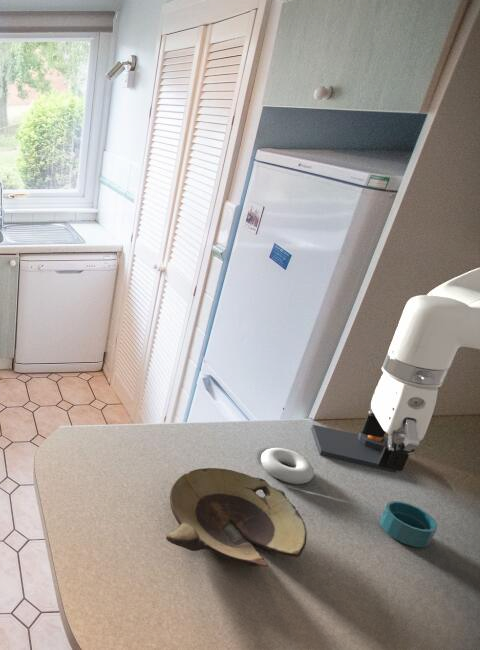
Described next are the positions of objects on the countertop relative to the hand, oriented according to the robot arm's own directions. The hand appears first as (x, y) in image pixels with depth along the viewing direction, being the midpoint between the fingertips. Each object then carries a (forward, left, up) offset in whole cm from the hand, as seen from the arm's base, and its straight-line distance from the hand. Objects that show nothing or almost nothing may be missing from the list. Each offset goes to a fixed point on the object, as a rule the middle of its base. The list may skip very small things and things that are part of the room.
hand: (380, 450), depth 82 cm
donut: (+9, -12, -18) cm, 24 cm away
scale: (-6, -27, -18) cm, 33 cm away
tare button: (-10, -30, -15) cm, 35 cm away
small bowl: (-9, -2, -18) cm, 20 cm away
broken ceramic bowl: (+23, +12, -18) cm, 32 cm away
